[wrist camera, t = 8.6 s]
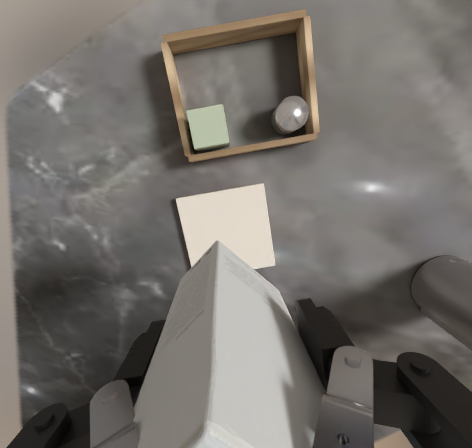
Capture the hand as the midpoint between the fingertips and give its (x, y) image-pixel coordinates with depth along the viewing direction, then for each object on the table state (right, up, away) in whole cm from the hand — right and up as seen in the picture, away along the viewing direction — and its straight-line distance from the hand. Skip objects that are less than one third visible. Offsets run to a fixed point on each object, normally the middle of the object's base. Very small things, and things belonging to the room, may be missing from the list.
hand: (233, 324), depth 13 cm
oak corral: (+1, +21, +18) cm, 28 cm away
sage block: (-3, +17, +19) cm, 25 cm away
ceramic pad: (-1, +4, +22) cm, 22 cm away
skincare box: (0, +1, +4) cm, 5 cm away
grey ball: (+6, +19, +18) cm, 27 cm away
